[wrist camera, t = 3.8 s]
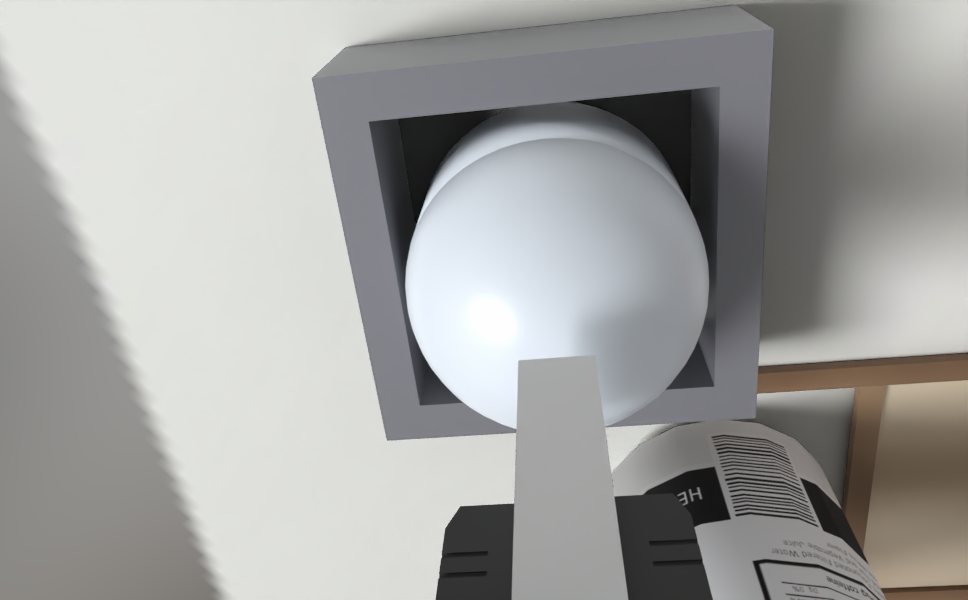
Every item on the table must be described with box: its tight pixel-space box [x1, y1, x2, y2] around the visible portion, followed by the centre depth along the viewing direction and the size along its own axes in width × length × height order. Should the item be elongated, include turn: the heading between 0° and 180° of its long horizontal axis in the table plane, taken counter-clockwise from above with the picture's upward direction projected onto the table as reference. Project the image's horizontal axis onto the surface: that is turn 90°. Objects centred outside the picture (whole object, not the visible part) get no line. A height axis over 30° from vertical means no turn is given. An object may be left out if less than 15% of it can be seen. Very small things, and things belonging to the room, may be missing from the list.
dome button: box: [405, 102, 709, 429], centre depth 21 cm, size 8×8×8 cm
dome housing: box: [312, 5, 774, 441], centre depth 24 cm, size 11×11×4 cm
